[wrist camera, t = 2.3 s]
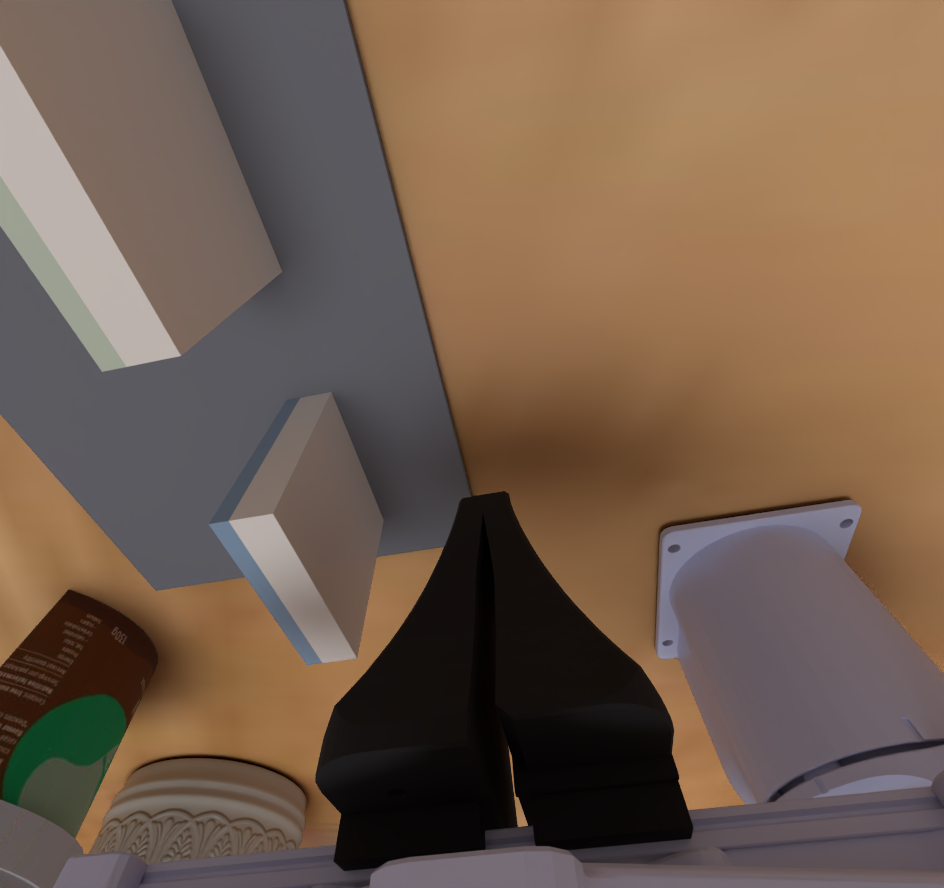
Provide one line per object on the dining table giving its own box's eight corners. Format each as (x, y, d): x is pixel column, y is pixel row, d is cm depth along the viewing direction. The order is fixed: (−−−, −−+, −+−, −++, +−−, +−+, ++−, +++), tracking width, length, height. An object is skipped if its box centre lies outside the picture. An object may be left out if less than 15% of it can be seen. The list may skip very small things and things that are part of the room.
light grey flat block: (383, 520, 19) (357, 658, 14) (346, 526, 19) (306, 664, 14) (331, 391, 16) (272, 513, 11) (286, 400, 16) (208, 524, 11)
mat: (481, 534, 20) (481, 540, 20) (160, 583, 22) (155, 590, 21) (277, -269, 9) (269, -285, 8) (-388, -54, 10) (-417, -60, 10)
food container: (149, 723, 29) (24, 964, 21) (35, 694, 27) (-155, 950, 19) (212, 617, 23) (74, 891, 15) (74, 571, 21) (-174, 858, 13)
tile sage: (282, 271, 14) (181, 355, 9) (231, 282, 14) (101, 372, 9) (169, -5, 10) (-99, -124, 5) (102, 12, 11) (-217, -86, 6)
